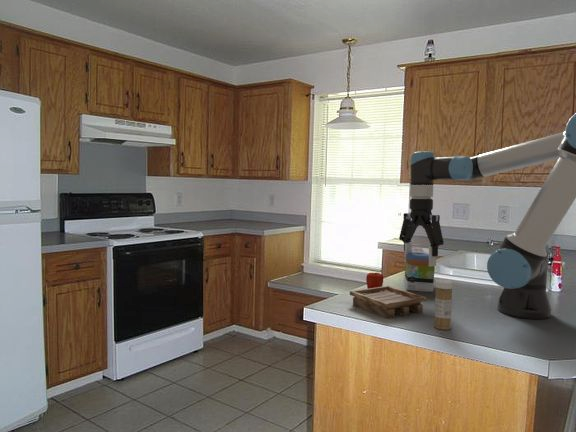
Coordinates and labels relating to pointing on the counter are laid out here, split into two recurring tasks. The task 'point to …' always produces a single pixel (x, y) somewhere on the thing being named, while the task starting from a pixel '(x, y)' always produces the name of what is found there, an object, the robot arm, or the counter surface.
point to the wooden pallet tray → (388, 301)
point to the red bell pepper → (374, 280)
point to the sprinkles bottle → (443, 304)
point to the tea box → (419, 275)
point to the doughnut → (417, 258)
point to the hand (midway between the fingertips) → (419, 263)
